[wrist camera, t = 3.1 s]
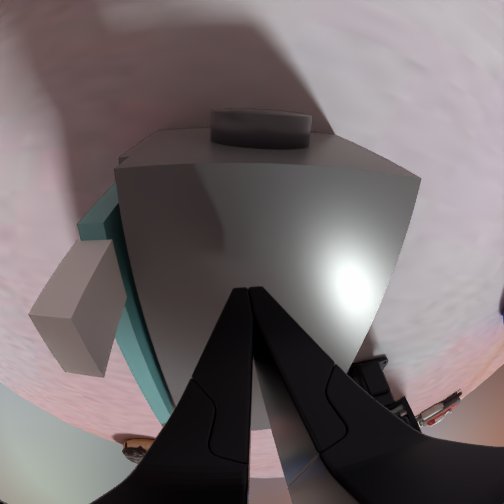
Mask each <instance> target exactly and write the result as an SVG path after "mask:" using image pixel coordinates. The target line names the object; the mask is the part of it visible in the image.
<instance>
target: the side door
mask: <svg viewBox="0 0 504 504" xmlns="http://www.w3.org/2000/svg"><path fill="white" fill-rule="evenodd" d="M77 227H78V231H79V234H80V238H81V241H76V242H75V243H74V245H73V246H72V247H71V249H70V250H69V252H68V253H67V254H66V256H65V257H64V259H63V260H62V261H61V263H60V264H59V266H58V267H57V269H56V270H55V272H54V273H53V275H52V276H51V278H50V279H49V281H48V283H47V284H46V286H45V287H44V289H43V290H42V292H41V294H40V295H39V297H38V299H37V300H36V302H35V304H34V305H33V307H32V309H31V311H30V312H29V314H28V315H29V316H30V318H31V320H32V322H33V323H34V325H35V327H36V329H37V330H38V332H39V334H40V335H41V337H42V339H43V340H44V342H45V343H46V345H47V346H48V348H49V350H50V351H51V353H52V354H53V356H54V357H55V358H56V360H57V361H58V363H59V364H60V366H61V367H62V368H63V370H64V371H65V372H69V373H75V374H82V375H89V376H96V377H104V376H105V372H106V367H107V364H108V360H109V356H110V352H111V348H112V345H113V341H114V338H116V340H117V343H118V345H119V347H120V349H121V351H122V354H123V356H124V358H125V360H126V362H127V364H128V366H129V368H130V370H131V372H132V374H133V376H134V378H135V380H136V382H137V384H138V386H139V387H140V389H141V391H142V393H143V395H144V397H145V398H146V400H147V402H148V404H149V405H150V407H151V409H152V410H153V412H154V414H155V415H156V417H157V419H158V420H159V422H160V424H161V425H162V426H163V427H164V425H165V424H166V422H167V421H168V419H169V417H170V416H171V414H172V412H173V411H174V409H175V408H176V405H175V403H174V400H173V398H172V395H171V393H170V390H169V388H168V385H167V383H166V380H165V377H164V375H163V372H162V369H161V367H160V364H159V361H158V358H157V355H156V352H155V349H154V346H153V343H152V340H151V337H150V334H149V331H148V328H147V324H146V321H145V318H144V314H143V311H142V307H141V304H140V300H139V296H138V292H137V289H136V285H135V281H134V277H133V272H132V268H131V264H130V259H129V255H128V250H127V245H126V240H125V235H124V230H123V225H122V219H121V213H120V207H119V201H118V194H117V187H116V183H115V184H114V185H113V186H112V187H111V188H110V189H109V190H108V191H107V192H106V193H105V194H104V195H103V196H102V197H101V198H100V199H99V200H98V201H97V202H96V203H95V205H94V206H93V207H92V208H91V209H90V210H89V211H88V212H87V213H86V215H85V216H84V217H83V218H82V219H81V220H80V221H79V223H78V224H77Z"/></svg>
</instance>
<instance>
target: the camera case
mask: <svg viewBox="0 0 504 504" xmlns="http://www.w3.org/2000/svg"><path fill="white" fill-rule="evenodd" d="M311 125H312V116H310V115H306V114H301V113H295V112H288V111H279V110H267V109H240V108H237V109H216V110H211V128H188V129H169V130H158V131H156V132H155V133H153V134H152V135H150V136H149V137H147V138H146V139H144V140H143V141H141V142H140V143H138V144H137V145H135V146H134V147H132V148H131V149H130V150H128V151H127V152H125V153H124V154H123V155H121V156H120V157H119V165H118V166H117V167H116V168H115V169H114V171H115V179H116V187H117V194H118V201H119V207H120V213H121V219H122V225H123V230H124V235H125V240H126V245H127V250H128V255H129V259H130V264H131V268H132V272H133V277H134V281H135V285H136V289H137V292H138V296H139V300H140V304H141V307H142V311H143V314H144V318H145V321H146V324H147V328H148V331H149V334H150V337H151V340H152V343H153V346H154V349H155V352H156V355H157V358H158V361H159V364H160V367H161V369H162V372H163V375H164V377H165V380H166V383H167V385H168V388H169V390H170V393H171V395H172V398H173V400H174V403H175V405H176V406H177V404H178V402H179V400H180V398H181V396H182V394H183V392H184V390H185V388H186V386H187V384H188V382H189V380H190V379H191V376H192V374H193V372H194V369H195V367H196V365H197V363H198V361H199V359H200V357H201V355H202V352H203V350H204V348H205V346H206V344H207V342H208V340H209V338H210V336H211V333H212V331H213V329H214V327H215V325H216V323H217V321H218V319H219V316H220V314H221V312H222V310H223V308H224V306H225V304H226V302H227V300H228V297H229V295H230V293H231V291H232V289H233V288H238V287H247V288H249V287H254V286H262V287H264V288H265V289H266V290H267V291H268V292H269V293H270V294H271V296H272V297H273V298H274V299H275V300H276V301H277V302H278V303H279V304H280V305H281V306H282V307H283V308H284V309H285V310H286V311H287V312H288V314H289V315H290V316H291V317H292V318H293V319H294V320H295V321H296V322H297V323H298V324H299V325H300V326H301V327H302V328H303V329H304V330H305V331H306V332H307V333H308V335H309V336H310V337H311V338H312V339H313V340H314V341H315V342H316V343H317V344H318V345H319V346H320V347H321V348H322V349H323V350H324V351H325V352H326V353H327V354H328V355H329V356H330V357H331V358H332V359H333V361H334V362H335V364H338V366H339V367H340V368H341V369H342V370H343V371H344V372H345V373H347V372H348V370H349V368H350V366H351V364H352V362H353V360H354V358H355V356H356V355H357V353H358V351H359V349H360V347H361V345H362V343H363V341H364V338H365V336H366V334H367V332H368V330H369V328H370V326H371V324H372V321H373V319H374V317H375V315H376V312H377V310H378V308H379V306H380V303H381V301H382V298H383V296H384V294H385V291H386V289H387V286H388V284H389V281H390V278H391V276H392V273H393V271H394V268H395V265H396V262H397V260H398V257H399V254H400V251H401V248H402V245H403V242H404V239H405V236H406V233H407V230H408V226H409V223H410V220H411V216H412V213H413V209H414V206H415V202H416V198H417V194H418V190H419V186H420V182H421V178H420V177H418V176H416V175H415V174H413V173H411V172H410V171H408V170H406V169H404V168H402V167H401V166H399V165H397V164H395V163H393V162H391V161H390V160H388V159H386V158H384V157H382V156H380V155H378V154H376V153H374V152H372V151H370V150H368V149H366V148H364V147H362V146H360V145H357V144H355V143H353V142H351V141H349V140H347V139H344V138H342V137H340V136H338V135H334V134H326V133H317V132H311ZM335 364H334V365H335ZM262 429H271V426H270V423H269V419H268V415H267V411H266V408H265V404H264V400H263V396H262V393H261V389H260V385H259V381H258V377H257V373H256V369H255V365H254V360H253V379H252V415H251V430H262Z"/></svg>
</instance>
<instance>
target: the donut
mask: <svg viewBox="0 0 504 504" xmlns="http://www.w3.org/2000/svg"><path fill="white" fill-rule="evenodd" d="M153 442H154V440H150V439H132V440H127V441H126V442H125V443H124V445H123V451H122V452H123V454H124V455H125V457H126V458H127V459H129V460H130V461H132V462H134V463H136V464H138V463H139V462H140V461H141V459H142V458H143V456H144V455H145V453H146V452H147V450H148V449H149V448H150V446H151V445H152V443H153Z"/></svg>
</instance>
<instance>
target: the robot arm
mask: <svg viewBox="0 0 504 504" xmlns="http://www.w3.org/2000/svg"><path fill="white" fill-rule="evenodd" d="M253 360H254V365H255V369H256V373H257V377H258V381H259V385H260V389H261V393H262V396H263V400H264V404H265V408H266V411H267V415H268V419H269V423H270V426H271V430H272V434H273V437H274V441H275V444H276V448H277V452H278V455H279V459H280V462H281V466H282V469H283V473H284V476H285V479H286V483H287V486H288V489H289V493H290V496H291V500H292V503H293V504H504V447H493V446H484V445H475V444H468V443H461V442H455V441H448V440H443V439H438V438H434V437H430V436H427V435H424V434H422V432H421V430H420V427H419V425H418V423H417V421H416V418H415V416H414V414H413V412H412V410H411V408H410V406H409V404H408V402H407V400H406V398H405V396H404V397H402V398H400V400H398V401H396V402H395V400H394V397H393V395H392V393H391V391H390V386H389V384H388V382H387V379H386V377H385V375H384V373H383V371H382V370H383V369H384V367H385V366H386V364H387V363H388V359H387V357H385V358H381V359H376V360H371V361H367V362H362V363H357V364H351V366H350V368H349V370H348V372H347V373H345V372H344V371H343V370H342V369H341V368H340V367H339V366H338V364H335V362H334V361H333V359H332V358H331V357H330V356H329V355H328V354H327V353H326V352H325V351H324V350H323V349H322V348H321V347H320V346H319V345H318V344H317V343H316V342H315V341H314V340H313V339H312V338H311V337H310V336H309V335H308V333H307V332H306V331H305V330H304V329H303V328H302V327H301V326H300V325H299V324H298V323H297V322H296V321H295V320H294V319H293V318H292V317H291V316H290V315H289V314H288V312H287V311H286V310H285V309H284V308H283V307H282V306H281V305H280V304H279V303H278V302H277V301H276V300H275V299H274V298H273V297H272V296H271V294H270V293H269V292H268V291H267V290H266V289H265V288H264V287H262V286H254V287H249V288H247V287H238V288H233V289H232V291H231V293H230V295H229V297H228V300H227V302H226V304H225V306H224V308H223V310H222V312H221V314H220V316H219V319H218V321H217V323H216V325H215V327H214V329H213V331H212V333H211V336H210V338H209V340H208V342H207V344H206V346H205V348H204V350H203V352H202V355H201V357H200V359H199V361H198V363H197V365H196V367H195V369H194V372H193V374H192V376H191V379H190V380H189V382H188V384H187V386H186V388H185V390H184V392H183V394H182V396H181V398H180V400H179V402H178V404H177V406H176V408H175V409H174V411H173V412H172V414H171V416H170V417H169V419H168V421H167V422H166V424H165V425H164V427H163V428H162V430H161V431H160V433H159V434H158V436H157V437H156V439H155V440H154V442H153V443H152V445H151V446H150V448H149V449H148V450H147V452H146V453H145V455H144V456H143V458H142V459H141V461H140V462H139V463H138V465H137V466H136V468H135V469H134V470H133V471H132V472H131V474H130V475H129V476H128V477H127V478H126V479H125V480H124V481H122V482H121V483H120V484H119V485H117V486H116V487H114V488H113V489H111V490H110V491H108V492H107V493H106V494H104V495H103V496H101V497H99V498H98V499H97V500H95V501H93V502H92V503H90V504H249V481H250V480H249V479H250V449H251V415H252V379H253ZM334 364H335V365H334ZM404 412H405V415H404V416H402V417H401V414H402V413H404ZM0 504H7V503H5V502H3V501H1V500H0Z"/></svg>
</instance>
